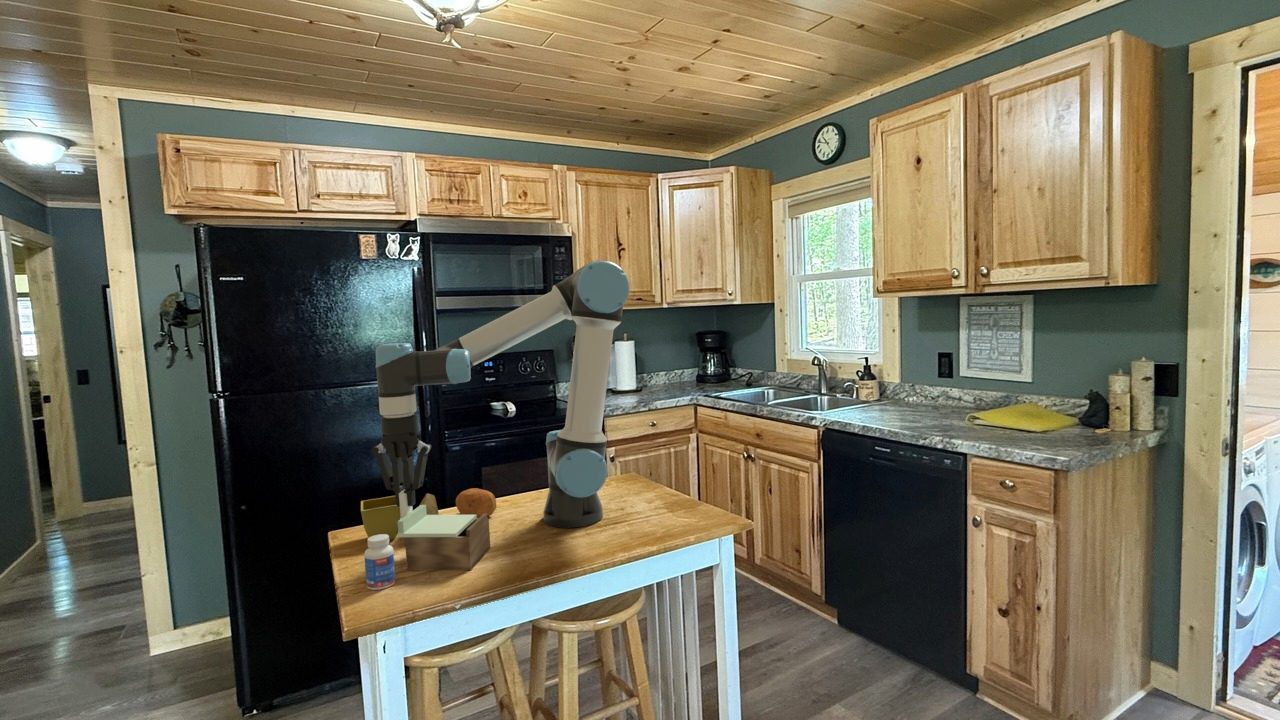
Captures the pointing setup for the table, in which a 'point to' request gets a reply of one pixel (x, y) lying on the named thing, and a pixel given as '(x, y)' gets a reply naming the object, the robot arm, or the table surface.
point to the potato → (476, 502)
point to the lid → (432, 524)
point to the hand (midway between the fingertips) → (407, 519)
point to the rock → (430, 504)
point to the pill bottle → (379, 563)
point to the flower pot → (381, 516)
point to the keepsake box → (450, 548)
